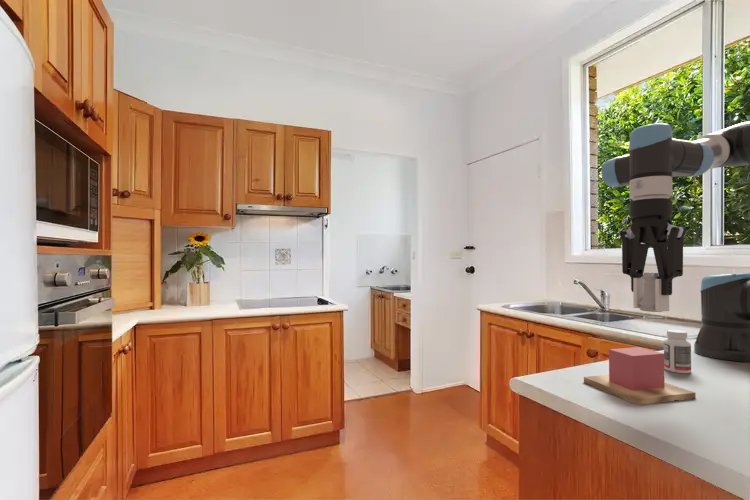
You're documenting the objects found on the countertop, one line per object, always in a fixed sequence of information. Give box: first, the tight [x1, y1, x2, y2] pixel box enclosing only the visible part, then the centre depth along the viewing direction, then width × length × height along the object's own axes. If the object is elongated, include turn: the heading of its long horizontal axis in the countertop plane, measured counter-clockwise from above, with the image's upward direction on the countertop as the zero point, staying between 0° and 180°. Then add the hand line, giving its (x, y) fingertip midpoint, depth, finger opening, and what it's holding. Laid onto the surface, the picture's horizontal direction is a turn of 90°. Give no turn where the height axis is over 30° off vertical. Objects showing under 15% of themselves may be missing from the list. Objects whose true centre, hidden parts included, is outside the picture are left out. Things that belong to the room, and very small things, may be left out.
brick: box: [608, 346, 666, 390], centre depth 85 cm, size 8×6×7 cm
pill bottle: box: [663, 329, 692, 374], centre depth 98 cm, size 5×5×10 cm
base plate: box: [583, 374, 697, 406], centre depth 85 cm, size 14×14×1 cm
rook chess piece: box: [638, 272, 663, 313], centre depth 84 cm, size 4×4×8 cm
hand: (650, 309), depth 84 cm, fingers closed on rook chess piece, 4 cm apart
